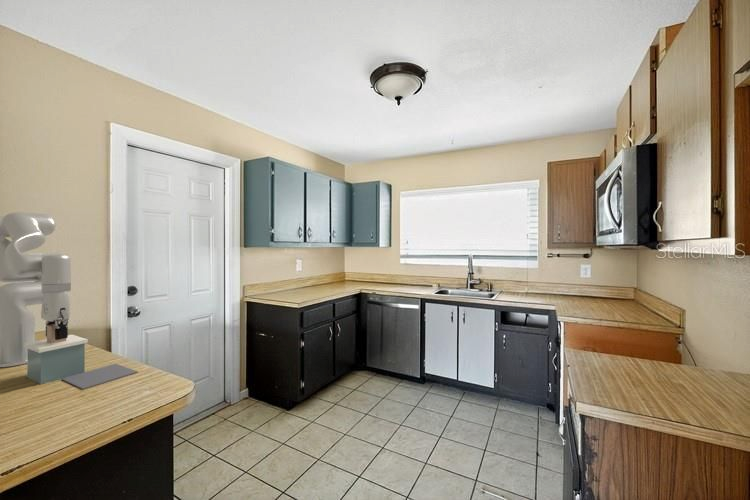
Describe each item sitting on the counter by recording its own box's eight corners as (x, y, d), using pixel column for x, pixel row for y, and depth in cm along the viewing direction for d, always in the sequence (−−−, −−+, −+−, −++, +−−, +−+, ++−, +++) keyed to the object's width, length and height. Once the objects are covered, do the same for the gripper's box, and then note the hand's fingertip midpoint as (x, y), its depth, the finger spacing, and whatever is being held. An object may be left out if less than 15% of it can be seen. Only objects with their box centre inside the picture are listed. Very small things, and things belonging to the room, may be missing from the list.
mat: (61, 379, 111) (61, 378, 111) (115, 364, 125) (115, 363, 125) (83, 389, 104) (83, 388, 104) (137, 372, 118) (137, 371, 118)
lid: (23, 349, 112) (23, 326, 112) (71, 340, 124) (71, 319, 123) (38, 355, 106) (38, 331, 106) (87, 345, 118) (87, 323, 118)
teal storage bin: (27, 377, 112) (27, 346, 112) (70, 366, 123) (70, 338, 123) (41, 384, 107) (40, 351, 107) (84, 372, 118) (84, 342, 117)
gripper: (32, 287, 115) (32, 336, 115) (52, 291, 107) (52, 343, 108) (59, 285, 122) (60, 331, 122) (81, 289, 114) (81, 338, 114)
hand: (56, 336), depth 115 cm, fingers open, 7 cm apart
